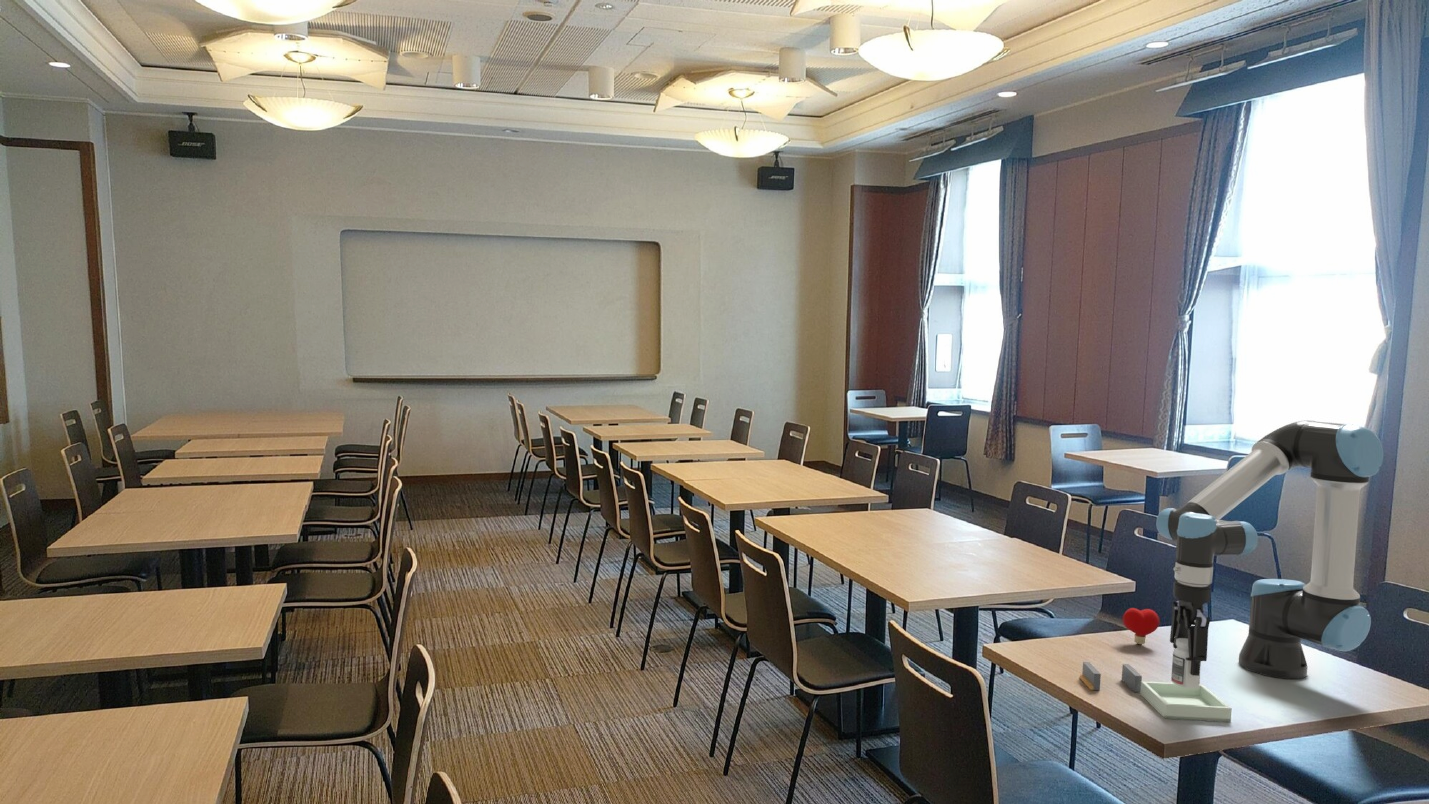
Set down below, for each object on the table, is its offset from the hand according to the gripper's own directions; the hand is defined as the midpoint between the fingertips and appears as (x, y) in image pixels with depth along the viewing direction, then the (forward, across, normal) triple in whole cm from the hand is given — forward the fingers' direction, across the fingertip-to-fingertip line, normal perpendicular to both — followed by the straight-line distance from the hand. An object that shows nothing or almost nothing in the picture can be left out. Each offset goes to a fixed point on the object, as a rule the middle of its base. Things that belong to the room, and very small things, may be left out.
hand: (1185, 682), depth 210 cm
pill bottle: (+1, 0, 0) cm, 1 cm away
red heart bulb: (+6, -44, +7) cm, 45 cm away
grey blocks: (+6, -12, -12) cm, 18 cm away
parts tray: (+6, 0, 0) cm, 6 cm away
